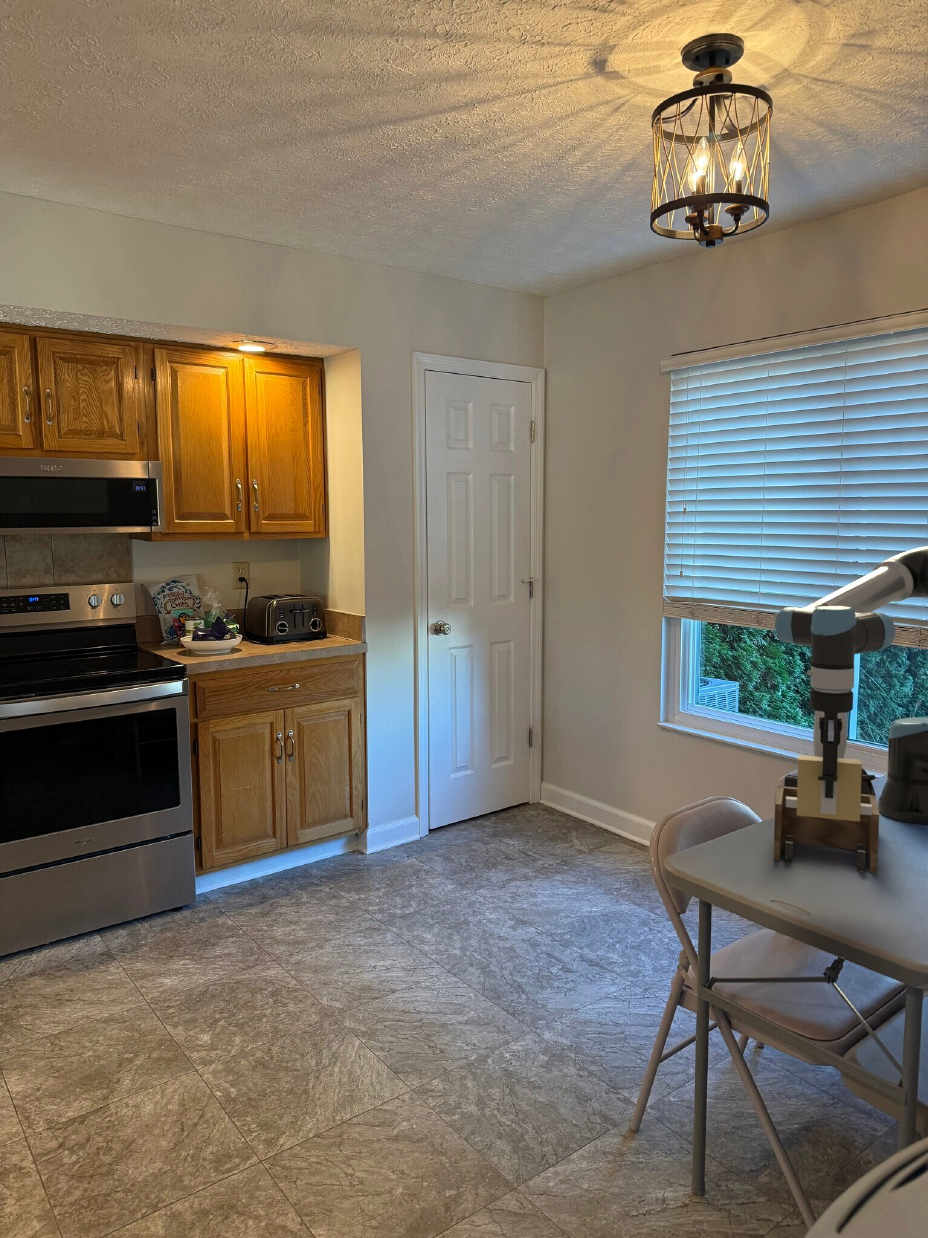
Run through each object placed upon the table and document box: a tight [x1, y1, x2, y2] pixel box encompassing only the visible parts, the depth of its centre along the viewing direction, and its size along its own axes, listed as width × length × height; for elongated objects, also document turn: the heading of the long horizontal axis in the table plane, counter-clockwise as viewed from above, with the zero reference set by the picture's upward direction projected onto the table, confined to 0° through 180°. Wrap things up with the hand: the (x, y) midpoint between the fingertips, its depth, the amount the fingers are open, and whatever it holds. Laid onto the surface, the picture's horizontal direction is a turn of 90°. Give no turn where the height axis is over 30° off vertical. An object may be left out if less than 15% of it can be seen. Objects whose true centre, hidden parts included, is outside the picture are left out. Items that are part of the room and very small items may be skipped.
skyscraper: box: [812, 710, 848, 759], centre depth 204 cm, size 8×8×28 cm
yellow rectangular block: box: [786, 754, 872, 822], centre depth 163 cm, size 15×3×11 cm, turn 68°
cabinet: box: [773, 785, 880, 874], centre depth 180 cm, size 19×13×12 cm
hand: (828, 810), depth 163 cm, fingers closed on yellow rectangular block, 3 cm apart
